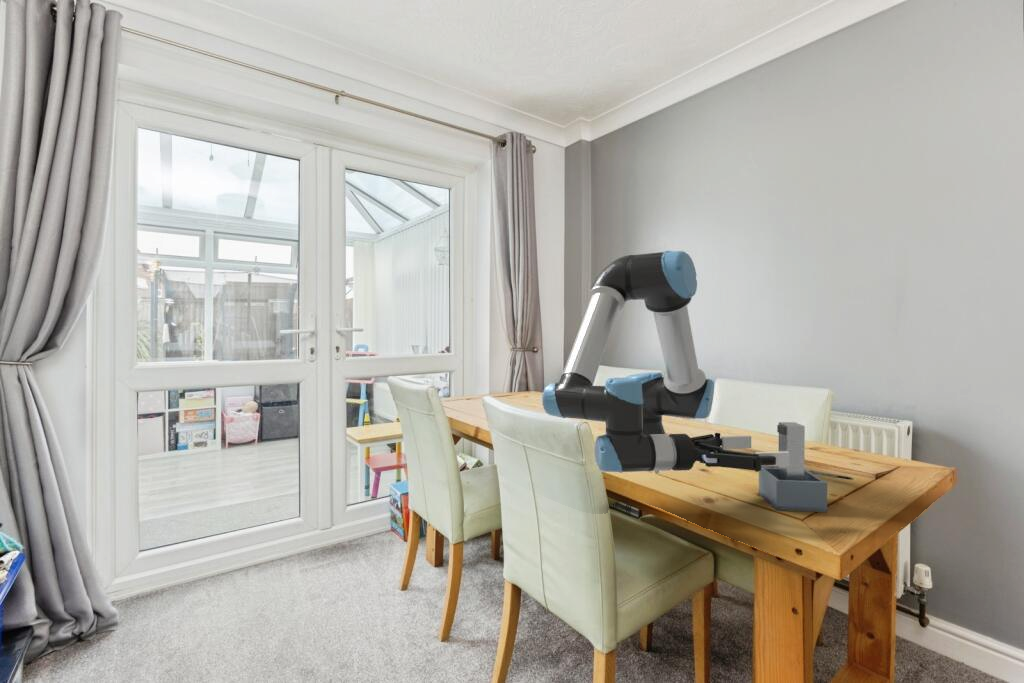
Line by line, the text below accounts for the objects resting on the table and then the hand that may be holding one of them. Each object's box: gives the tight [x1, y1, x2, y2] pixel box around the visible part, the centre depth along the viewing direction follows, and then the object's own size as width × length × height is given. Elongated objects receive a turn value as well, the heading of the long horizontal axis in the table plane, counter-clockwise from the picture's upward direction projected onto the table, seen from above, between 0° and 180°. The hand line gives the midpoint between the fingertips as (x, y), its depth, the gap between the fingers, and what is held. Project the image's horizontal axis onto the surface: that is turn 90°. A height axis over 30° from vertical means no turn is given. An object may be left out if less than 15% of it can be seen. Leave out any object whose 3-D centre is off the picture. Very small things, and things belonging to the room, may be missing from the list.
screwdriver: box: [769, 466, 854, 480], centre depth 120 cm, size 25×3×3 cm, turn 50°
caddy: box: [758, 467, 828, 513], centre depth 101 cm, size 10×10×6 cm
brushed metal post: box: [776, 421, 806, 481], centre depth 101 cm, size 4×4×16 cm
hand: (768, 449), depth 100 cm, fingers open, 13 cm apart
